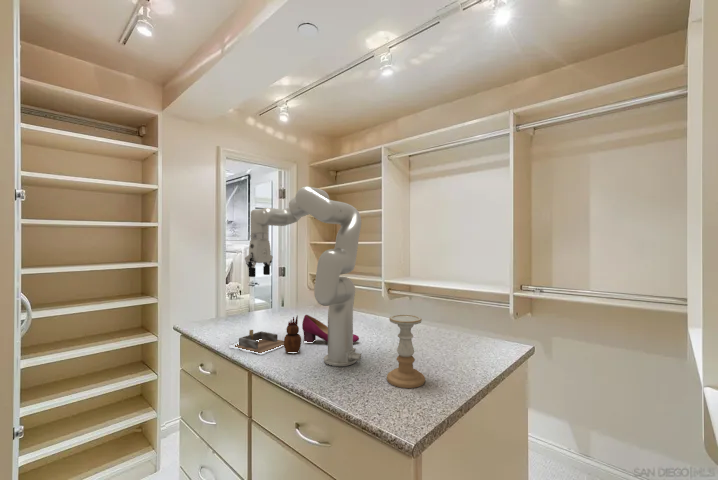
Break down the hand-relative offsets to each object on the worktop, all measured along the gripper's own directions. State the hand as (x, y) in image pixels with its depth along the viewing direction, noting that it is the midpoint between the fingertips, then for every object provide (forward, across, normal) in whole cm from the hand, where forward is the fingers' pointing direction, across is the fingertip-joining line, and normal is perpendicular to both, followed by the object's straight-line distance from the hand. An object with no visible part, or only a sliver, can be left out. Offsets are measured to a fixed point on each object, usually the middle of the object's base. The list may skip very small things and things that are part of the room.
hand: (259, 275), depth 144 cm
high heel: (+31, +12, -29) cm, 44 cm away
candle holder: (+30, -14, -70) cm, 77 cm away
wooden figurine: (+30, -5, -20) cm, 37 cm away
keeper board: (+30, -3, -2) cm, 30 cm away
